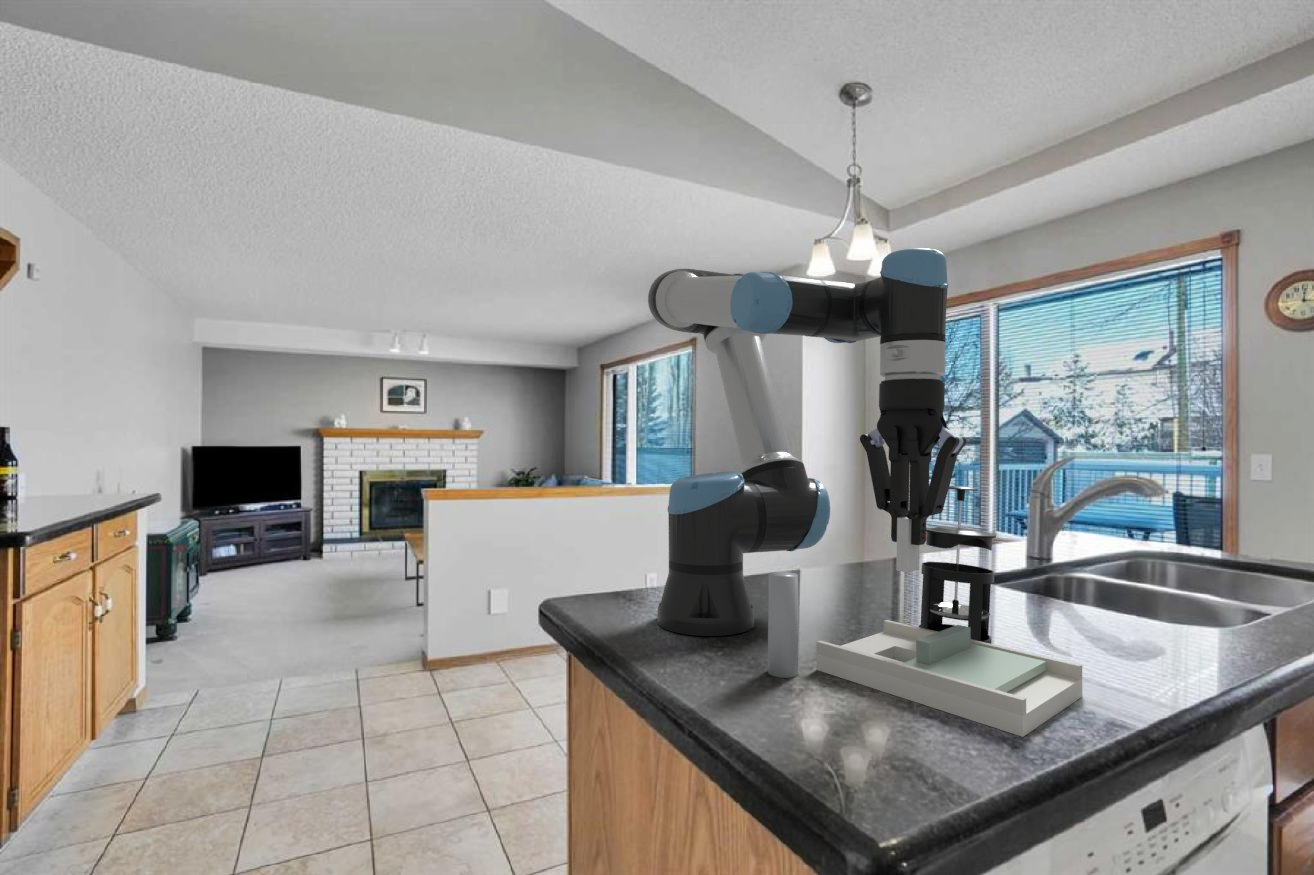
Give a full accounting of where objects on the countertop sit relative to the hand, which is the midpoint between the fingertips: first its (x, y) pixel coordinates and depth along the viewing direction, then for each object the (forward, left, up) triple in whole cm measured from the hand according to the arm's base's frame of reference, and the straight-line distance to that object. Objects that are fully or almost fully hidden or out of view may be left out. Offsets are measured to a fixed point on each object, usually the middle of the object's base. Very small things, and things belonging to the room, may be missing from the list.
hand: (907, 569), depth 81 cm
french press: (0, +12, -13) cm, 18 cm away
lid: (+8, 0, -10) cm, 13 cm away
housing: (+4, 0, -13) cm, 13 cm away
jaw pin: (-10, -12, -13) cm, 20 cm away
